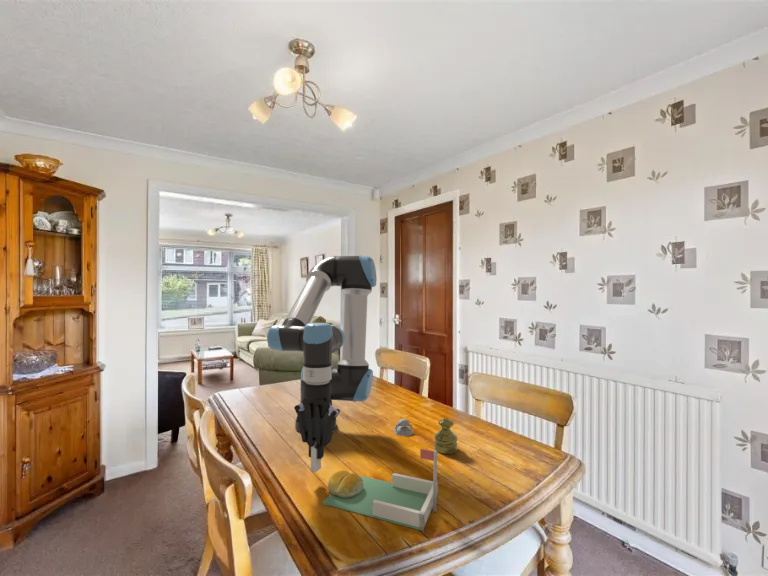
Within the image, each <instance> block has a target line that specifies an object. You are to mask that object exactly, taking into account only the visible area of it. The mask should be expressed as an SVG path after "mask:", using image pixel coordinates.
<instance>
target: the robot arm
mask: <svg viewBox="0 0 768 576" xmlns="http://www.w3.org/2000/svg"><path fill="white" fill-rule="evenodd" d="M376 270H377V269H376V265H375V262H374V259H373V258H372V257H371V256H368V255H367V256H366V255H333V256H328V257H327V258H324V259H322V260H320V261H319V262H318V263H316V264H315V265H314V266H313V267H312V268H311V269H310V271H309V272H308V273H307V275H306V277H305V284H304V285H303V288H302V289H301V291H300V293H299V295H298V296H297V298H296V300H295V301H294V303H293V305H292V307H291V308H290V310H289V312H288V313H287V315H286V317H285V319H284V320H283V322H282V324H276V325H272V326H271V327H269V329H268V331H267V336H266V340H267V342H266V343H267V344H268V347H269V349H270V350H272V351H278V352H280V351H281V352H303V358H302V359H303V361H302V362H303V363H302V365H303V366H302V369H301V374H300V403H299V404H296V405H295V406H294V411H295V413H296V415H297V416H296V419H295V422H294V423H295V425H294V427H295V431H297V432H299V433H300V436H301V441H302V443H306V444H307V445H308V458H310V473H317V472H318V471H320V470H321V468H322V458H324V456H325V453H324V452H325V447H326V446H327V445H329V444H330V443H331V442H332V437H333V434H334V429H335V428H336V427H337V417H338V416H339V414H340V412H341V410H340V408H335V407H334V406H333V401H345V402H346V401H347V402H353V403H355V402H365V401H367V400H368V397H369V396H370V394H371V389H372V386H373V380H374V371H373V370H372V369H371V368H370V367H369V366H370V365H369V363H368V361H367V360H366V342H367V340H366V339H367V338H366V337H367V318H368V313H367V312H368V296H369V295H370V294H371V293H372V289H373V288H374V287H376V286H377V271H376ZM331 287H341V289H340V290H341V292H342V293H343V295H344V307H343V308H344V309H343V311H344V312H343V330H342V329H341V328H340V327H339V326H336V325H332V324H331V323H329V322H312V319H313V317H314V315H315V313H316V311H317V310H318V308H319V305H320V303H321V301H322V299H323V297H324V295H325V294H326V292H328V291H329V290H330V289H331ZM341 348H342V350H341V351H342V352H341V359H340V360H339V361H338V362H337V367H334V365H333V363H332V362H333V359H332V358H333V353H334V352H337V351H339V350H340V349H341Z"/></svg>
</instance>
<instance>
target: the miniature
mask: <svg viewBox="0 0 768 576" xmlns="http://www.w3.org/2000/svg"><path fill="white" fill-rule="evenodd" d="M392 433H393V434H395V435H397V436H400V437H401V436H402V437H409V436H412V435H413V434H414V431H413V425H412V424H411V423H409V420H408V419H406V418H401V419H399V420H398V421H397V423H396V424H395V427H394V428H393V430H392Z"/></svg>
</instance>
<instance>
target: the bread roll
mask: <svg viewBox="0 0 768 576" xmlns="http://www.w3.org/2000/svg"><path fill="white" fill-rule="evenodd" d="M360 476H361V475H359V474H357V473H353V472H349V471H348V470H344V469H343V470H338V471H335V472H334V473H332V474H331V476H330V477H329V479H328V482H327V485H328V486H327V487H328V491H329V493H330V494H331V493H332V494H334V495H338V496H339V497H343V498H348V497H353V496H355V495H357V494H358V493H360V492H361V490H362V489H363V486H364V484H363V480H362V478H361V477H360Z"/></svg>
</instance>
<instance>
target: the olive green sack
mask: <svg viewBox="0 0 768 576" xmlns="http://www.w3.org/2000/svg"><path fill="white" fill-rule="evenodd" d="M438 425H439V426H440V427H441V428H440V430H439V431H438V432H436V433H435V434H434V445H433V446H434V450H436V451H437V453H440V454H442V455H452V454H455V453H457V451H458V435H457V434H456V433H454V431H452V430H451V427H453V426H454V425H455V422H454V421H453V420H452V419H449V418H448V417H444V418H441V419H439V420H438Z"/></svg>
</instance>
